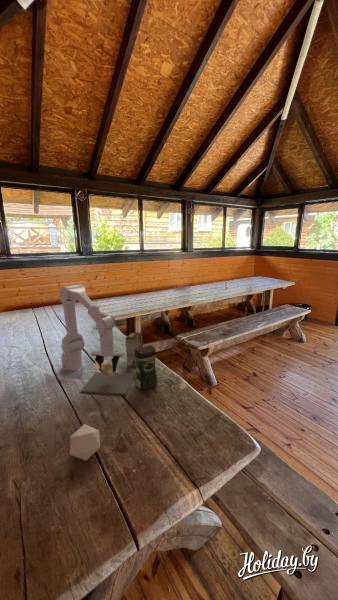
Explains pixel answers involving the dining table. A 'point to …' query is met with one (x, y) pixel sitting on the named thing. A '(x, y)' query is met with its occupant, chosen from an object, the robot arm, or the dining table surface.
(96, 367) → the tile
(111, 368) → the birch block
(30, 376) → the dining table surface
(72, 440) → the die
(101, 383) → the mat
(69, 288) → the robot arm
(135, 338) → the coffee box
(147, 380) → the coffee jar
